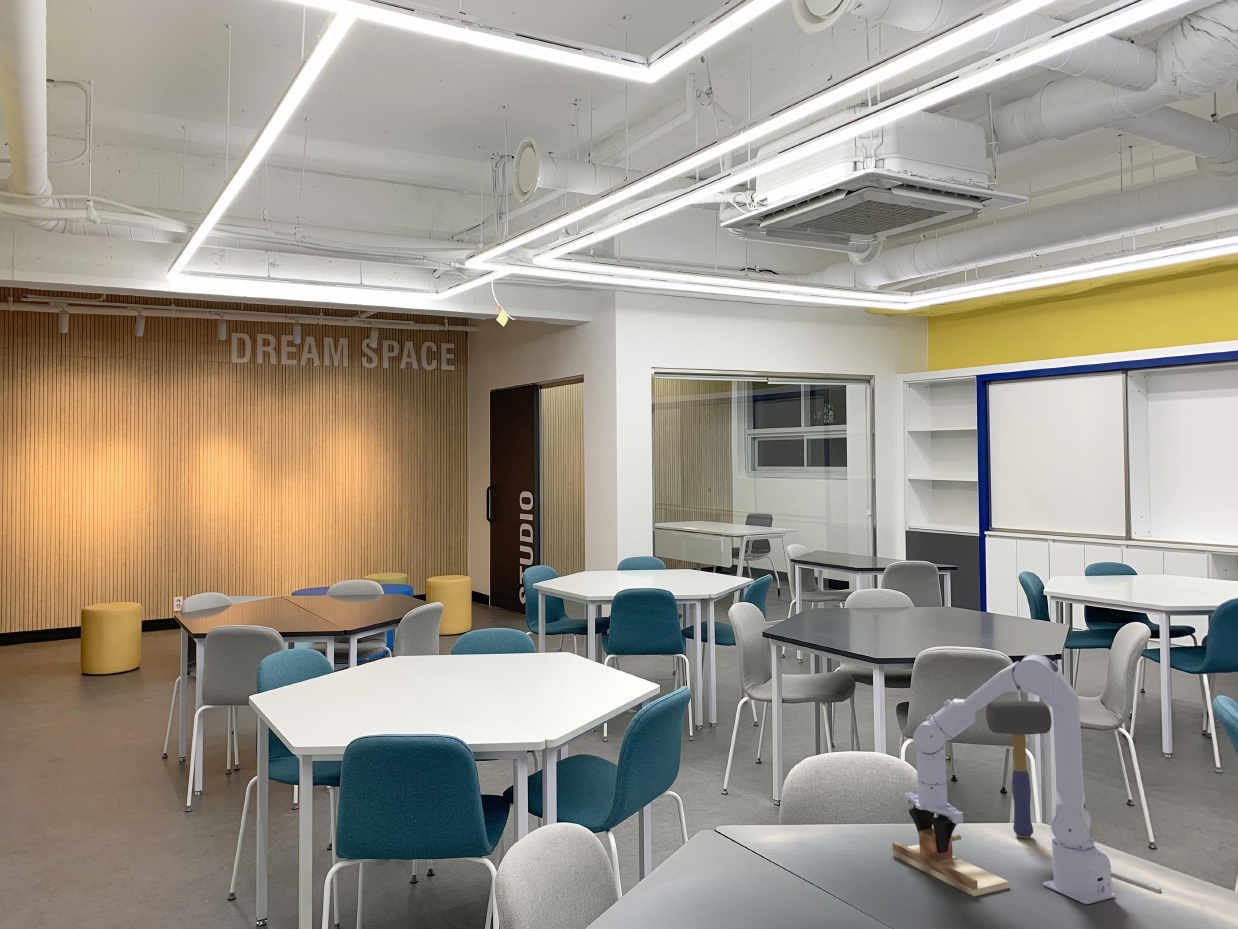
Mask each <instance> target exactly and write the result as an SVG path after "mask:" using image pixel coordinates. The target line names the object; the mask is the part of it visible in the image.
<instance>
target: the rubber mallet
mask: <svg viewBox="0 0 1238 929" xmlns="http://www.w3.org/2000/svg"><path fill="white" fill-rule="evenodd" d="M985 714H986V715H985V718H986V723H987V726H988V729H989V730H990V731H991V732H992V733H994V734H1005V735H1012V736H1013V738H1012V739H1013V744H1012V745H1013V766H1014V767H1013V772H1012V779H1011V780H1012V782H1011V786H1012V787H1011V789H1012V790H1011V791H1012V792H1011V793H1012V799H1013V804H1014V805H1013V806H1014V808H1013V809H1014V821H1013V831H1014V833H1015V835H1016V837H1018V838H1019V839H1030V838H1031V837H1032V835H1033V833H1034V827H1033V824H1032V820H1031V816H1032V815H1031V799H1032V798H1031V797H1032V790H1031V780H1030V774H1029V771H1028V768H1027V767H1028V766H1027V751H1026V750H1027V749H1026V735H1040V734H1041V735H1042V734H1048V733H1050V731H1051V728H1052V714H1051V710H1050V709H1049V706H1048V704H1047V703H1046V702H1045V701H1044V702H1043V701H1036V700H1035V701H1033V700H1018V699H1017V700H1015V699H1013V700H1012V699H1010V700H997V701H995V700H992V701H991V702H989V703H988V704H987V705H986V708H985Z"/></svg>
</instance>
